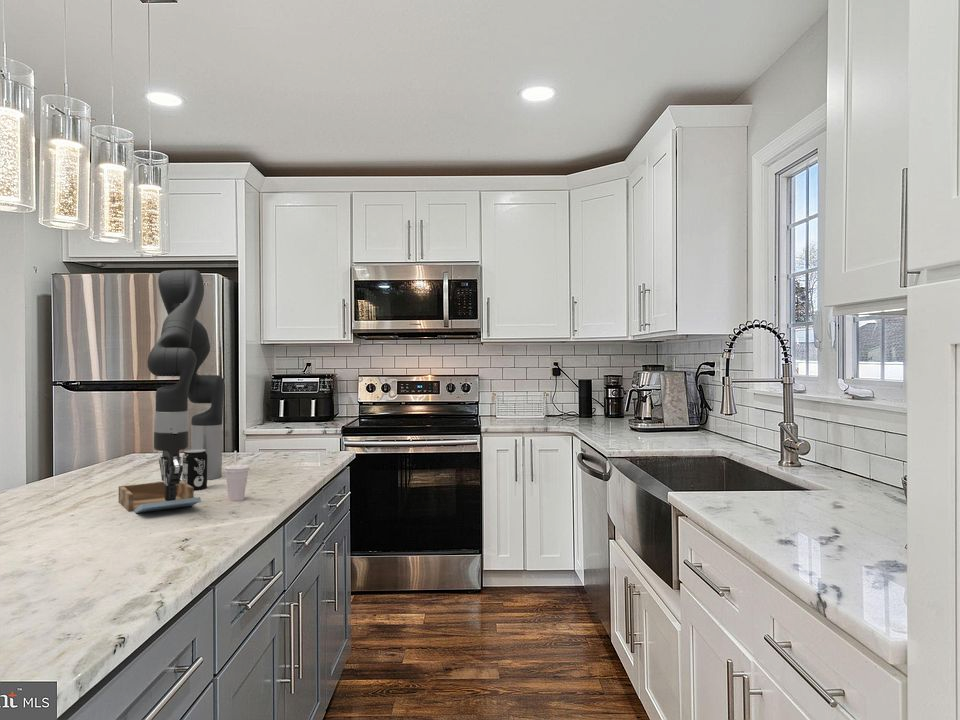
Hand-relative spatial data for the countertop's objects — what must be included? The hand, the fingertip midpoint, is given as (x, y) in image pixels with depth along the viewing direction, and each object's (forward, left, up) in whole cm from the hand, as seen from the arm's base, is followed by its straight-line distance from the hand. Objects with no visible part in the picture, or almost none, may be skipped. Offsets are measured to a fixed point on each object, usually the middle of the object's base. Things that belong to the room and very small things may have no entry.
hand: (170, 500), depth 152 cm
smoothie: (-7, +18, -4) cm, 20 cm away
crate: (-15, 0, -4) cm, 15 cm away
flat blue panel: (-7, 0, -3) cm, 8 cm away
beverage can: (-28, +13, -4) cm, 31 cm away
